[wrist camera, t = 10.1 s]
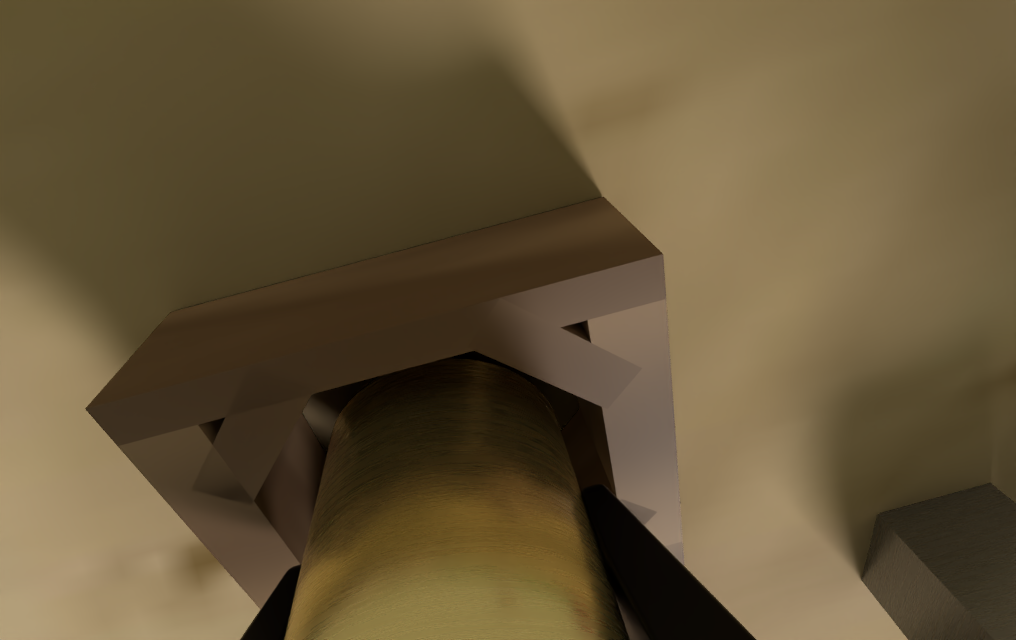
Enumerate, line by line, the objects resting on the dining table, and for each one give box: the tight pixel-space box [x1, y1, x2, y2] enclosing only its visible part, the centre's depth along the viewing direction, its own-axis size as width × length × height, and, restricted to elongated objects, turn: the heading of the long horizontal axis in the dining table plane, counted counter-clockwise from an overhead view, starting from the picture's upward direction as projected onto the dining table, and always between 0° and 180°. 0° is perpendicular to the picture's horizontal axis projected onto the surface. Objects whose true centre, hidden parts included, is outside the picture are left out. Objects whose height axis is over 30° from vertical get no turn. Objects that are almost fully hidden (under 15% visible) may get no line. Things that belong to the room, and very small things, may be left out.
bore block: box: [86, 197, 684, 609], centre depth 14 cm, size 18×9×3 cm, turn 13°
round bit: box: [284, 359, 630, 640], centre depth 8 cm, size 5×5×7 cm
